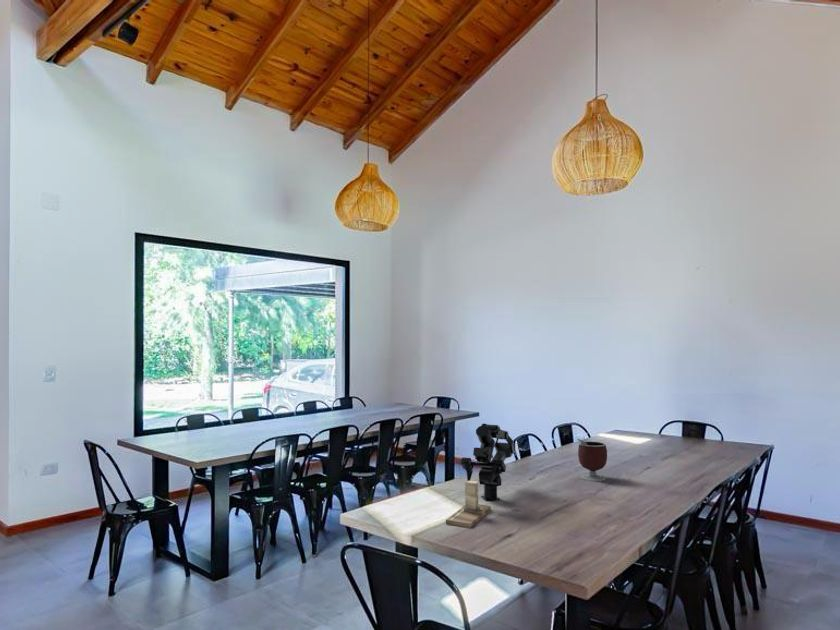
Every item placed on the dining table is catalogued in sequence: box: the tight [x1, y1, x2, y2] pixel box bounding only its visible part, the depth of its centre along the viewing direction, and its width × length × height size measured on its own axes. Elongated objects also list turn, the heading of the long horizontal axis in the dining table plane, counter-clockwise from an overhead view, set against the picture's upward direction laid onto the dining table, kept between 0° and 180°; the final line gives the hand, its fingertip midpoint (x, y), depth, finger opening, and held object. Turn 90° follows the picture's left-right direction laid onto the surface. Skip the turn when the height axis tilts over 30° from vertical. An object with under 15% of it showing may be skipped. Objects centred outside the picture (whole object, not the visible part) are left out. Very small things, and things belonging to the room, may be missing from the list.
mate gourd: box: [576, 438, 608, 482], centre depth 282 cm, size 16×14×20 cm
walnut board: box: [445, 503, 492, 528], centre depth 222 cm, size 24×10×2 cm, turn 155°
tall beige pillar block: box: [464, 480, 480, 513], centre depth 225 cm, size 5×5×11 cm
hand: (478, 482), depth 232 cm, fingers open, 9 cm apart
